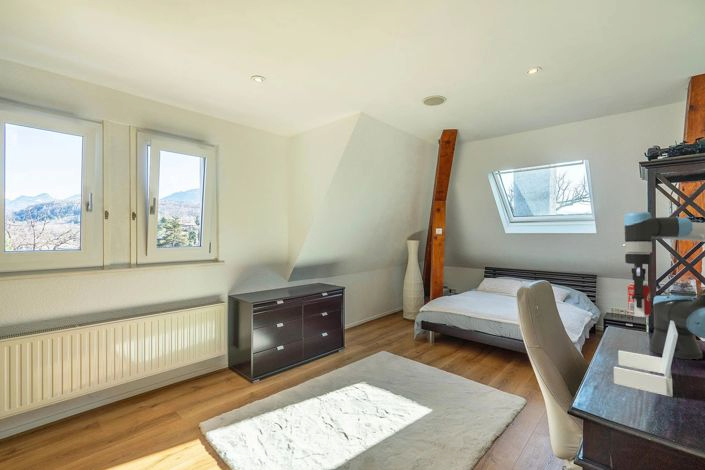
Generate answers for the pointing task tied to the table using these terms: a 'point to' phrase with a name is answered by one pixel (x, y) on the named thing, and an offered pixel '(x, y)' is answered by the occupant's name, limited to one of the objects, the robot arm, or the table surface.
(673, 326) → the lid
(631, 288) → the beverage can
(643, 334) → the table surface
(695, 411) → the table surface
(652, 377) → the white flat pieces
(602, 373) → the table surface
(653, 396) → the table surface
